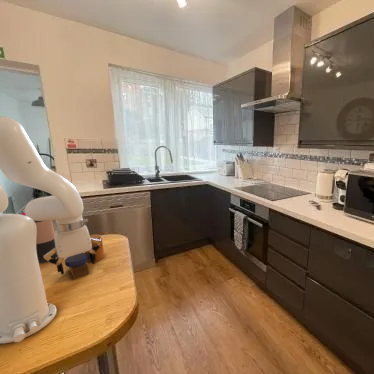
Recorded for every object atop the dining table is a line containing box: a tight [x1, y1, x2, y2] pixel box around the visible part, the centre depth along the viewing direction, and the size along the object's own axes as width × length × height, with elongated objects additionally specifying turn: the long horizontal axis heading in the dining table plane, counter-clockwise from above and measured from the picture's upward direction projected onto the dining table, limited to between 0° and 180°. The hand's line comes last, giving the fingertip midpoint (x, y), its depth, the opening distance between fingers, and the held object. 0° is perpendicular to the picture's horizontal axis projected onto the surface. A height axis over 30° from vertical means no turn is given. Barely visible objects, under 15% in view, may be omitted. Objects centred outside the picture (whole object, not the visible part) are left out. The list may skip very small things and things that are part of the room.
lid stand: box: [68, 262, 90, 280], centre depth 82 cm, size 9×4×4 cm, turn 48°
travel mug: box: [25, 215, 58, 264], centre depth 89 cm, size 8×8×20 cm
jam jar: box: [84, 233, 105, 263], centre depth 92 cm, size 7×7×10 cm
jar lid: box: [64, 252, 89, 268], centre depth 82 cm, size 7×7×2 cm
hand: (78, 267), depth 83 cm, fingers open, 9 cm apart
